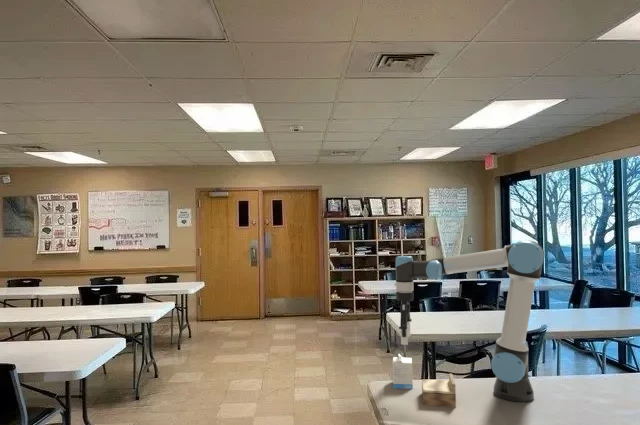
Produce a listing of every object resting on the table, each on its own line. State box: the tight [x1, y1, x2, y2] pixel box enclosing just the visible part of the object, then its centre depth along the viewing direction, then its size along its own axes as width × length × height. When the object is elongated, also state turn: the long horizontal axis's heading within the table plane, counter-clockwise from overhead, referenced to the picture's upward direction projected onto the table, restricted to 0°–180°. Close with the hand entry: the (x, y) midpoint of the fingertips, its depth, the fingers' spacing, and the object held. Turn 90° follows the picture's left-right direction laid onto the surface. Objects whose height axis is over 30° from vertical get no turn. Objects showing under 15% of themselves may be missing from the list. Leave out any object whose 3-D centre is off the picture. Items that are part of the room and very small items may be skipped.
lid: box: [421, 373, 457, 395], centre depth 169 cm, size 12×12×4 cm
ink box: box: [392, 353, 414, 390], centre depth 186 cm, size 9×8×13 cm
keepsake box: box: [421, 383, 457, 408], centre depth 169 cm, size 12×12×5 cm
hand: (405, 340), depth 185 cm, fingers open, 13 cm apart
